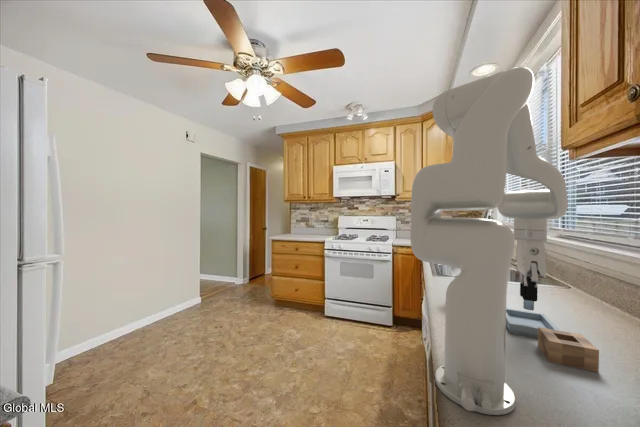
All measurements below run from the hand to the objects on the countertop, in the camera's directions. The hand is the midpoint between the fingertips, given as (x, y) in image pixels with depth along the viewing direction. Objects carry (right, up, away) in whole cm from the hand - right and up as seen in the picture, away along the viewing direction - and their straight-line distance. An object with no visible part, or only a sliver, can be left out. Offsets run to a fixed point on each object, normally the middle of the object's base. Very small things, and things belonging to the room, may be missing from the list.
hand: (528, 298), depth 75 cm
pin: (0, -3, 0) cm, 3 cm away
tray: (0, -8, 0) cm, 8 cm away
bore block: (-4, -8, -16) cm, 19 cm away
